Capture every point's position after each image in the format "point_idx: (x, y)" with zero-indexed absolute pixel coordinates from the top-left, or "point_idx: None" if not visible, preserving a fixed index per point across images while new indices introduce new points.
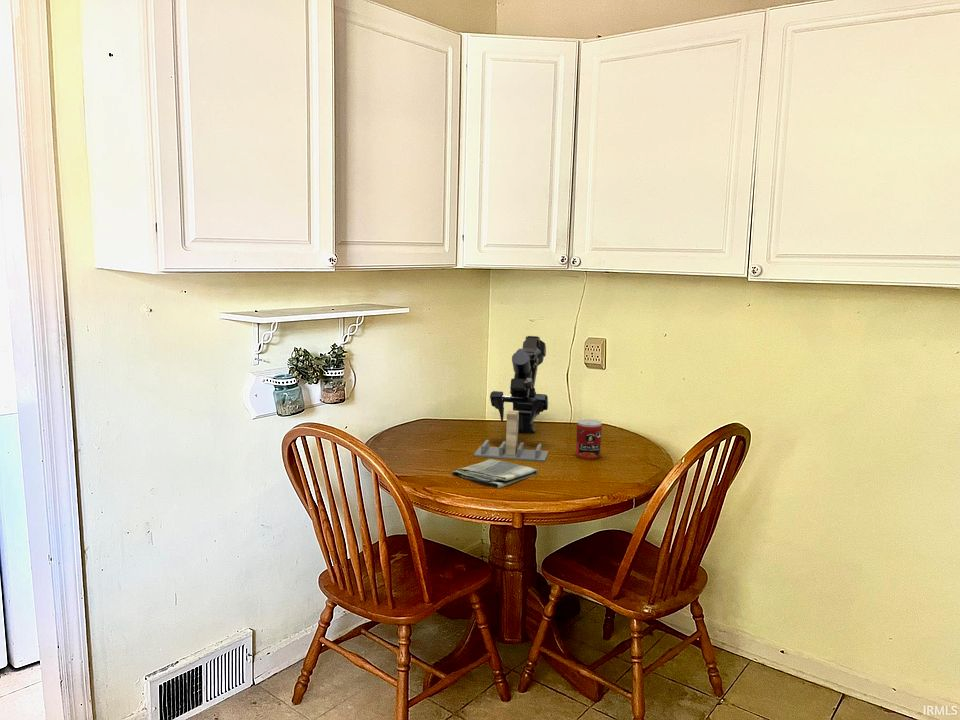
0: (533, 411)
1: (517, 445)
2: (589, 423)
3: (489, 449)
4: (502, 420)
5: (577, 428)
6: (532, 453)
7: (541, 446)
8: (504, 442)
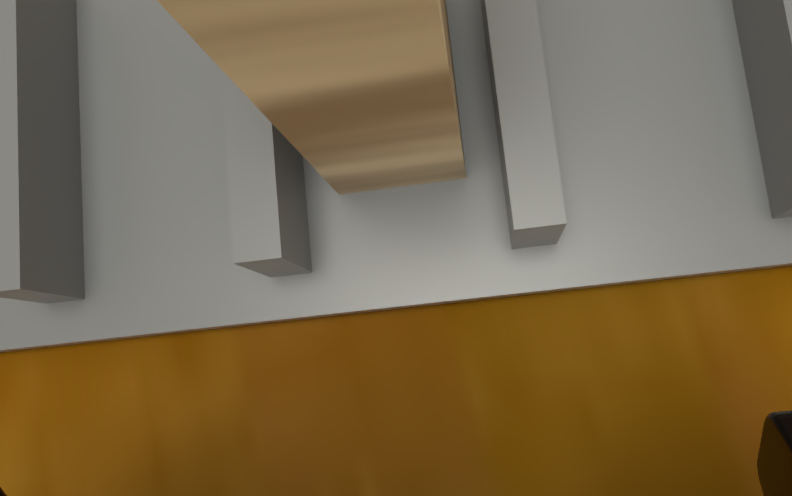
0: None
1: (319, 169)
2: None
3: (727, 121)
4: (772, 457)
5: None
6: (136, 172)
7: (1, 296)
8: (523, 142)
